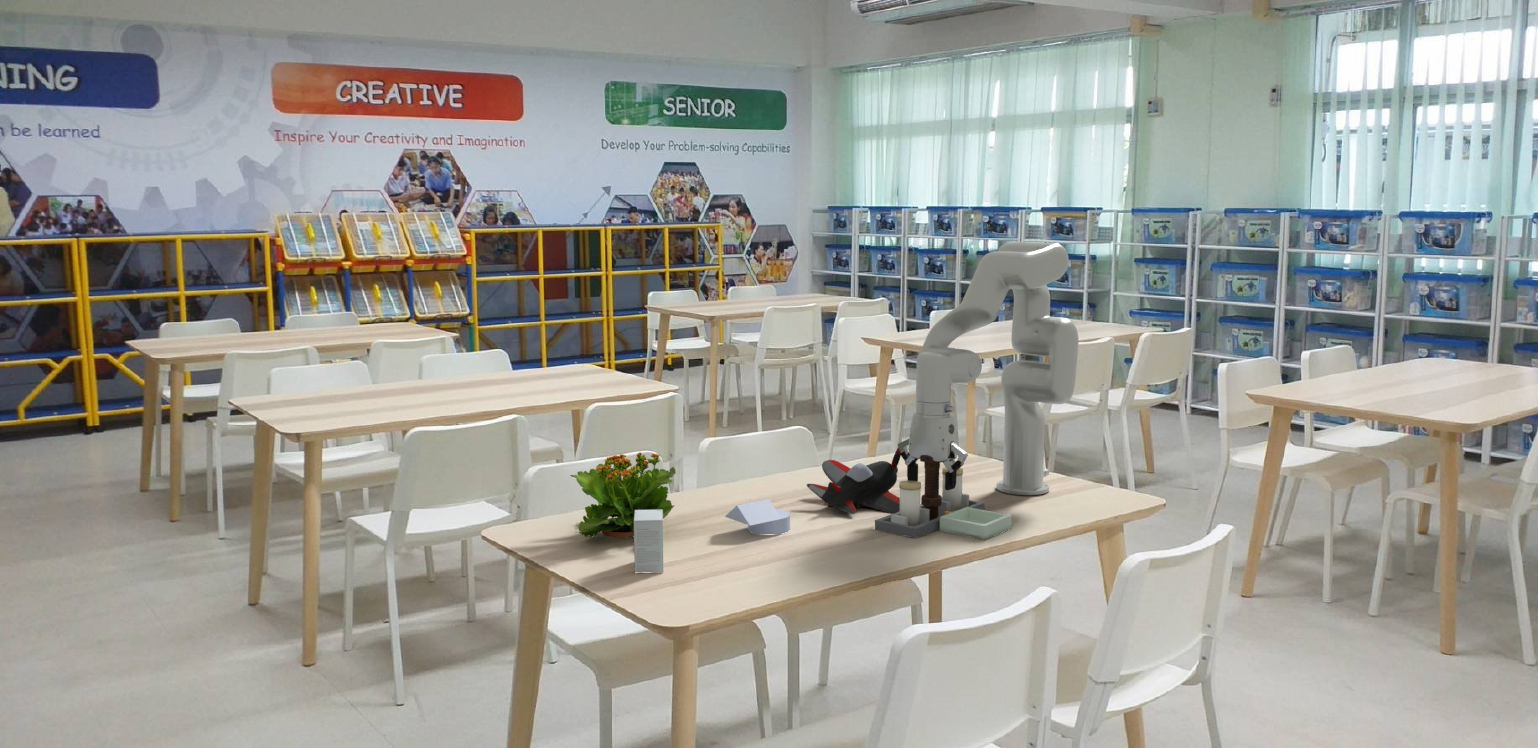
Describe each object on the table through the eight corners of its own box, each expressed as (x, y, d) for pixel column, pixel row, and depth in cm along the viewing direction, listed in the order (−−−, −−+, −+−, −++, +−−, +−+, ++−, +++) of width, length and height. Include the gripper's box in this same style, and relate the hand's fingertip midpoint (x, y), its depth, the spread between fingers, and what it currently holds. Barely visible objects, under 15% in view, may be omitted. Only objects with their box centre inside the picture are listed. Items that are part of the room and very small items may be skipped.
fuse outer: (906, 524, 256) (907, 479, 255) (924, 528, 253) (925, 482, 252) (894, 528, 253) (895, 483, 251) (912, 532, 250) (913, 486, 248)
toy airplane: (783, 505, 278) (786, 451, 271) (853, 470, 292) (857, 418, 285) (867, 560, 261) (872, 504, 253) (937, 520, 275) (943, 466, 267)
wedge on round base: (750, 541, 244) (798, 530, 252) (749, 509, 243) (798, 499, 251) (724, 531, 251) (772, 521, 259) (724, 501, 250) (772, 491, 258)
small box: (635, 561, 230) (634, 509, 229) (663, 560, 231) (663, 508, 229) (634, 574, 222) (632, 520, 221) (663, 573, 223) (662, 519, 221)
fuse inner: (948, 508, 269) (949, 466, 267) (966, 512, 266) (966, 468, 264) (937, 512, 265) (938, 469, 264) (955, 516, 262) (956, 472, 261)
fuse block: (874, 529, 252) (875, 513, 252) (945, 503, 273) (945, 489, 273) (917, 538, 245) (917, 522, 245) (986, 511, 266) (986, 496, 266)
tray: (966, 520, 259) (966, 506, 259) (1011, 529, 252) (1011, 515, 252) (939, 530, 251) (939, 517, 250) (984, 540, 244) (985, 526, 243)
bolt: (941, 524, 256) (943, 456, 254) (918, 523, 257) (919, 455, 255) (943, 517, 262) (944, 451, 259) (920, 516, 263) (921, 450, 260)
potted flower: (559, 522, 259) (556, 444, 256) (663, 511, 267) (661, 436, 264) (583, 553, 235) (580, 468, 233) (696, 541, 244) (695, 458, 241)
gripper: (976, 411, 253) (974, 488, 255) (909, 402, 264) (907, 476, 266) (958, 415, 247) (956, 495, 250) (890, 406, 258) (888, 482, 261)
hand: (931, 485), depth 258 cm, fingers open, 9 cm apart
